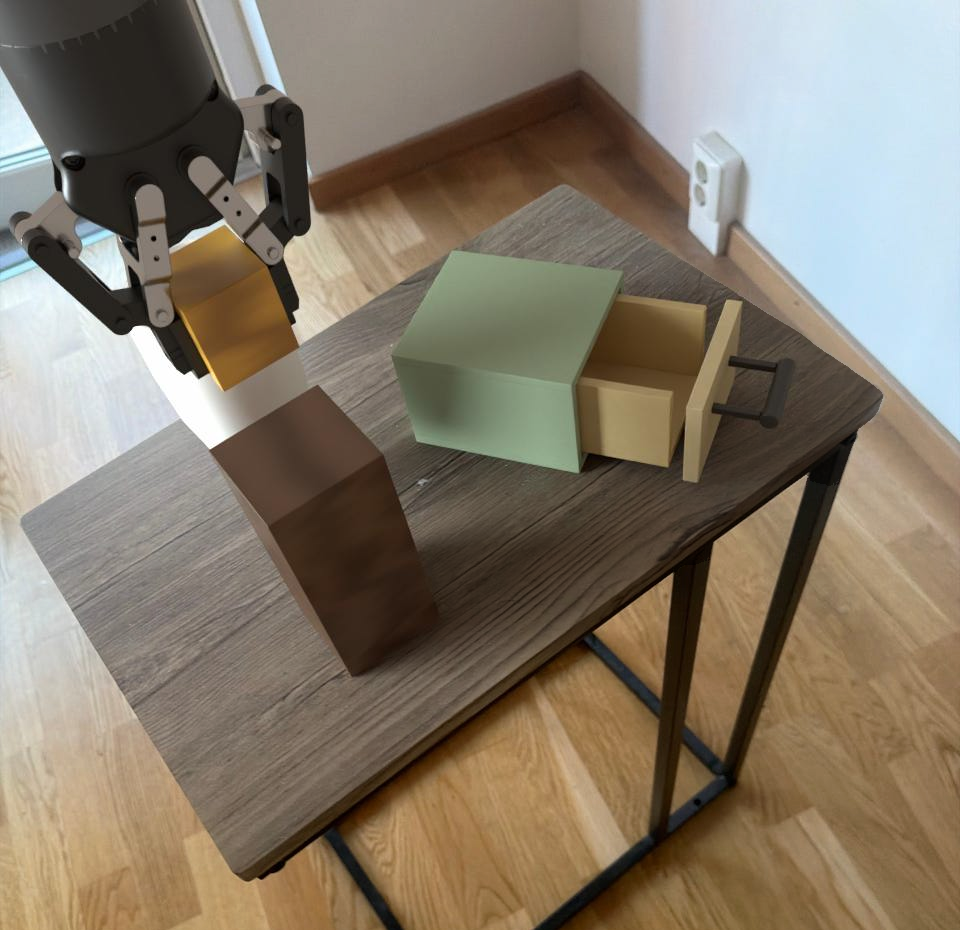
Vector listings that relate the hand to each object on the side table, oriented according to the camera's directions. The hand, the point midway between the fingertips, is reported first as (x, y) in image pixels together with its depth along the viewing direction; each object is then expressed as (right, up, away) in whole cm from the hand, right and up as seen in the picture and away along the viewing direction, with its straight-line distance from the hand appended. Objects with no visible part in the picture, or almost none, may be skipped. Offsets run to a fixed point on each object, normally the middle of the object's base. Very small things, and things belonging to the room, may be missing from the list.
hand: (240, 342), depth 49 cm
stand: (+4, -14, +22) cm, 26 cm away
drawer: (+27, +2, +27) cm, 38 cm away
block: (0, 0, 0) cm, 0 cm away
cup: (-3, -4, +30) cm, 30 cm away
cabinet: (+16, +5, +31) cm, 35 cm away
